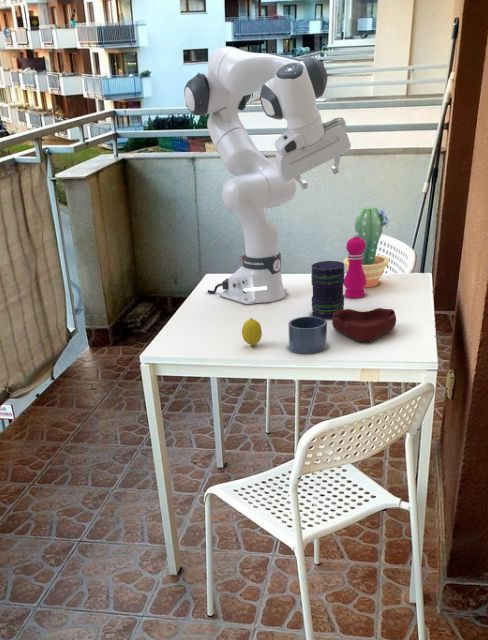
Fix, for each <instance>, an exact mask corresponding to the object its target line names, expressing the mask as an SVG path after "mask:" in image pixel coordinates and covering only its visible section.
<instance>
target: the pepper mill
mask: <svg viewBox="0 0 488 640" xmlns="http://www.w3.org/2000/svg"><path fill="white" fill-rule="evenodd" d="M352 236H353V237H351V238H349V240H347V242H346V247H345V248H346V251H347V252H348V253H347V258H348V259H349V268H348V271H347V270H346V273H345V277H344V280H345V281H344V284H343V287H345V290H344V297H346V298H348V299H360V298H363V297H364V296H365V289H364V288H365V287H364V286H365V285H366V276H365V274H364V271H363V268H362V258H363V257H364V256H363V255H364V253H363V251H364V250H365V241H364V240H363V239H362V238H359V234H358V233H357V232H356V233H355V232H354V233H353V234H352Z"/></svg>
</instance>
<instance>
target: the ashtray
mask: <svg viewBox="0 0 488 640" xmlns="http://www.w3.org/2000/svg"><path fill="white" fill-rule="evenodd" d="M331 324H332V327H333V329H334V330H335V331H336V332H337V333H339V334H343V335H345V336H347V337H349V338H351V339H353V340H354V341H355V340H356V341H358V342H359V343H362V344H367V343H370V342H371V341H373V340H375V339H377V338H379V337H380V336H383V334H385V333H388V332H390V331H392V330H393V329H394V328H395V327H396V325H397V316H396V312H395V310H394V309H392V308H382V307H377V308H374V309H371V310H367V311H359V310H355V309H351V308H344V309H343V310H340V311H335V312H334V313H333V317H332V319H331Z"/></svg>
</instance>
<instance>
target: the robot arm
mask: <svg viewBox="0 0 488 640" xmlns="http://www.w3.org/2000/svg"><path fill="white" fill-rule="evenodd" d="M207 69H208V70H207V71H206V72H203V73H200V72H198V73H196V75H195V76H193V77H192V78H191V79H189V80H188V81H187V82H186V84H185V85H184V89H183V96H184V102H185V105H186V107H187V109H188V111H189V112H190V113H191V114H192V115H193V116H206V115H208V114H209V116H208V118H207V124H206V127H207V130H208V134H209V136H210V139H211V142H212V144H213V147H214V148H215V150H216V152H217V154H218V156H219V157H220V159H221V161H222V163H223V165H224V167H225V168H226V170H227V171H228V173H230V174H232V175H234V176H235V177H233V178H231V179H229V180H227V181H226V182H225V183H224V184H223V187H222V190H221V191H222V192H221V199H222V202H223V204H224V206H225V209H227V211H229V212H230V213H231V214H232V215H234V216H235V217H236V219H237V220H238V222H239V223H240V225H241V228H242V231H243V239H244V249H245V254H244V255H243V256H240V257H239V261H240V262H241V261H242V263H241V266H240V267H239V268H238V269H237V270H236V271H235V272H233V273H231V275H230V276H229V278H226V279H224V280H223V281H221V282H220V283H217V284H216V285H215V286H214V289H213V290H210V289H208V290H207V293H208V294H215V293H216V292H217V290H218V288H220V287H222V290H224V291H222V292H221V297H222V298H225V299H228V300H231V301H234V302H235V301H236V302H238V303H242V304H244V305H245V304H246V305H254V304H262V303H263V304H264V303H273V302H276V301H280V300H283V299H285V297H286V295H287V294H286V292H285V288H284V283H283V278H282V272H281V271H282V270H281V267H282V253H281V252H280V234H279V232H280V231H279V228H278V227H277V226H276V225H275V224H274V223H273V222H271V221H269V220H267V217H266V214H265V210H266V209H271V208H276V207H280V206H282V205H284V204H287V203H288V202H290V201H292V200H293V199H294V197H295V195H296V191H297V182H298V184H299V185H300V188H301V190H306V189H308V188H309V186H308V182H307V181H306V180H305V179H303V180H302V177H301V176H302V175H303V174H305V173H307V172H310V171H311V170H313V169H315V168H318V167H319V166H321V165H323V164H325V163H327V162H330V161H331V160H334V161H333V165H331V166H330V168H331V172H332V174H333V176H334V175H336V174H339V173H340V169H339V166H340V163H341V156H342V155H343V154H346V153H348V152H349V151H350V150H351V147H352V145H351V141H350V138H349V135H348V133H347V131H346V130H347V124H346V120H345V118H344V117H339V116H335V117H333V118H332V119H330V120H327V121H325V122H323V120H322V115H321V112H320V110H319V109H318V107H317V99H319V98H320V97H323V95H324V94H325V91H326V88H327V84H328V78H329V77H328V72H327V70H326V67H325V65H324V64H323V63H322V62H321V61H320V60H319V59H317V58H315V57H313V56H309V55H307V56H305V57H303V58H300V57H296V56H290V55H286V54H280V53H275V52H274V53H273V52H266V53H265V52H251V51H247V50H243V49H240V48H237V47H234V46H219V47H217V48H215V49H214V50H213V51H212V53H211V54H210V56H209V58H208V64H207ZM258 91H260V92H259V100H260V104H261V107H262V110H263V113H264V114H265V116H267V117H268V118H271V119H274V120H283V119H285V120H286V126H287V129H286V130H285V131H284V132H283V133H282V134H281V135H280V136H279V137H278V138H277V139H276V140H275V141H274V147H275V149H276V154H275V161H276V164H275V163H273V162H272V161H271V160H270V159H268V158H267V157H266V156H265V155H264V154H263V153H262V152H261V151H260V150H259V149H258V147H257V146H256V144H255V142H254V141H253V139H252V138H251V136H250V135H249V133H248V130H247V129H246V127H245V125H244V124H243V123H242V121H241V119H240V116H239V111H244V110H245V109H246V107H247V103H248V102H249V101H250V99H251V96H252V94H254V93H256V92H258Z"/></svg>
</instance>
